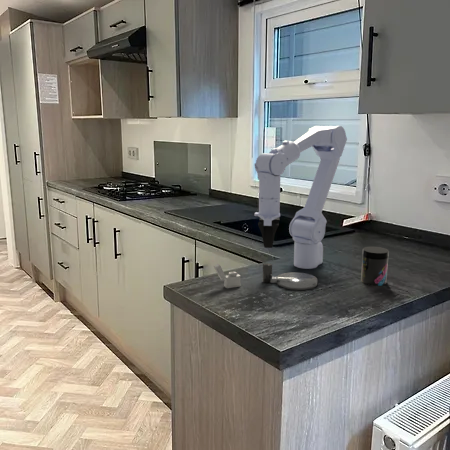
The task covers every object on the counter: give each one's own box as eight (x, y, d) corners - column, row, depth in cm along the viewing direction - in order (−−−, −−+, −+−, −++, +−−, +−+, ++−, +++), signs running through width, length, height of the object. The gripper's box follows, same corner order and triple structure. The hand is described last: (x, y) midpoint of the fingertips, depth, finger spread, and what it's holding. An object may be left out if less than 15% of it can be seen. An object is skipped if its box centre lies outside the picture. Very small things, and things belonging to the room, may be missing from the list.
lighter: (238, 289, 124) (238, 260, 123) (240, 291, 123) (240, 262, 121) (213, 292, 122) (213, 263, 120) (216, 294, 120) (215, 265, 119)
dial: (316, 277, 129) (317, 260, 128) (318, 291, 119) (319, 273, 118) (263, 274, 132) (264, 258, 130) (261, 288, 121) (261, 270, 120)
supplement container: (370, 292, 122) (373, 254, 120) (355, 283, 128) (357, 247, 126) (391, 289, 124) (394, 251, 122) (375, 281, 130) (378, 245, 128)
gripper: (256, 193, 133) (256, 238, 136) (252, 201, 119) (252, 252, 122) (281, 193, 132) (280, 239, 135) (279, 202, 118) (278, 253, 121)
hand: (268, 245), depth 128 cm, fingers open, 3 cm apart
